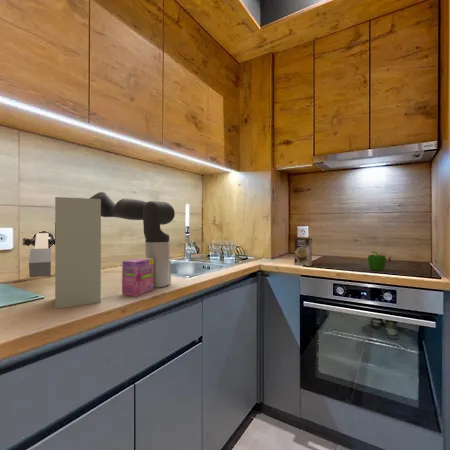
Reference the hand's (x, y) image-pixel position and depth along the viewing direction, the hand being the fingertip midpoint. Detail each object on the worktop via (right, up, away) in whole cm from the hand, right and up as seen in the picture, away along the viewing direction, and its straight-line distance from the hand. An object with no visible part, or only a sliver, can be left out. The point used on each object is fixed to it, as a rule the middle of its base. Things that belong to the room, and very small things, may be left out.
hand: (41, 242), depth 105 cm
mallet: (+1, -5, -2) cm, 6 cm away
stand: (+22, -17, -17) cm, 33 cm away
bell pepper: (+150, -18, +43) cm, 157 cm away
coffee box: (+116, -17, +62) cm, 133 cm away
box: (+38, -17, -6) cm, 43 cm away
